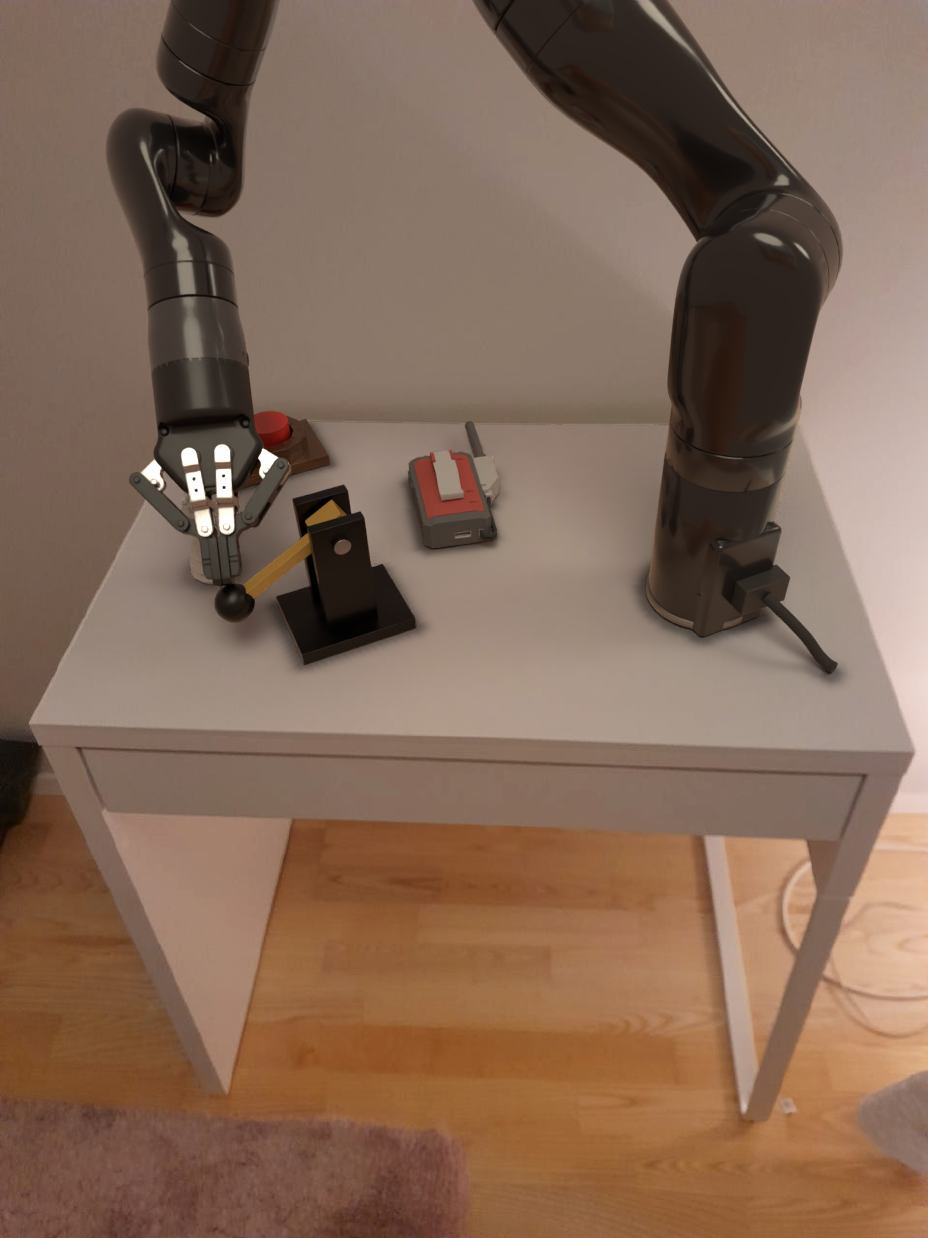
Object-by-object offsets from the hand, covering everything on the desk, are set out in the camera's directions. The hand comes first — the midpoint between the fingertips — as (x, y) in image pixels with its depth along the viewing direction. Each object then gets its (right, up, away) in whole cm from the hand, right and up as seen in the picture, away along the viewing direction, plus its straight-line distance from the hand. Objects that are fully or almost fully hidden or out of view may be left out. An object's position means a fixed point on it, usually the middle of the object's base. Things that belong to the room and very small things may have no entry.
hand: (224, 584), depth 74 cm
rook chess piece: (-4, +2, +13) cm, 13 cm away
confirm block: (-1, +14, +26) cm, 30 cm away
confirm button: (-1, +16, +24) cm, 29 cm away
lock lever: (+5, +1, +2) cm, 6 cm away
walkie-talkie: (+18, +10, +20) cm, 29 cm away
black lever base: (+9, -3, +7) cm, 12 cm away
